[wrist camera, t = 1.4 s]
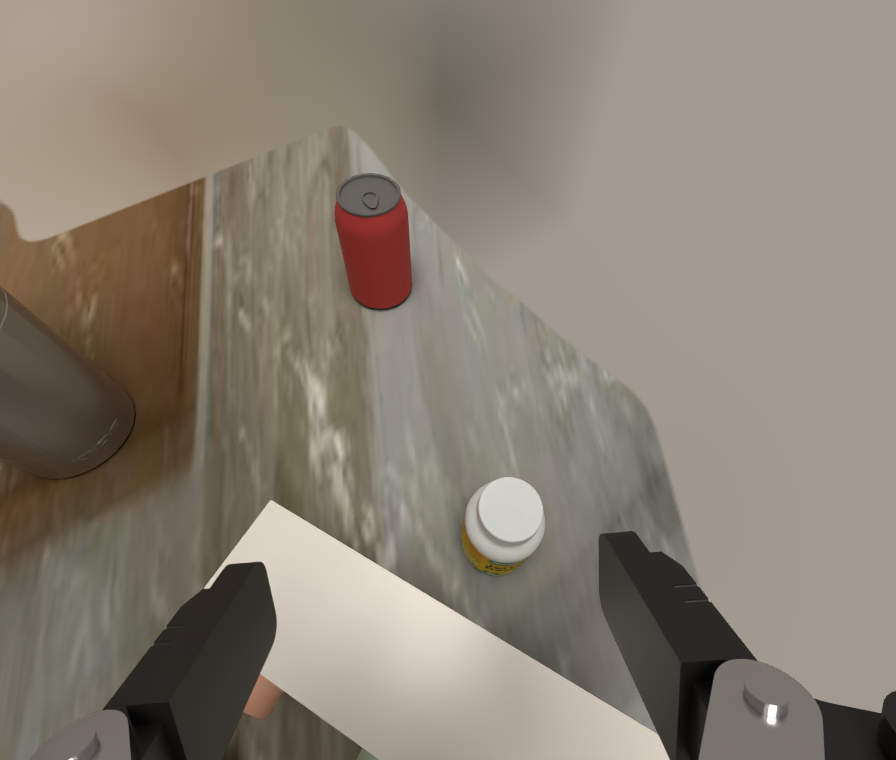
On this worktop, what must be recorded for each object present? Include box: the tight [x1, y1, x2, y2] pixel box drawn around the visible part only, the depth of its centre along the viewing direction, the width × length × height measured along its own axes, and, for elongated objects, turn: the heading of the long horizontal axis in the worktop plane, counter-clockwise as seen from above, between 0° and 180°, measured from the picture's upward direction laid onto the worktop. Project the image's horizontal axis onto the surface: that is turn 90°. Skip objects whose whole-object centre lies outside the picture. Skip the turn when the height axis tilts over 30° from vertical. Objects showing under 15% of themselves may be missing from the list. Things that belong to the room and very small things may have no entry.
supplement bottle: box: [461, 477, 545, 576], centre depth 31 cm, size 5×5×10 cm
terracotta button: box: [243, 674, 283, 719], centre depth 23 cm, size 3×4×3 cm
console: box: [204, 500, 670, 760], centre depth 25 cm, size 22×6×14 cm, turn 62°
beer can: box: [335, 173, 412, 309], centre depth 44 cm, size 7×7×12 cm
